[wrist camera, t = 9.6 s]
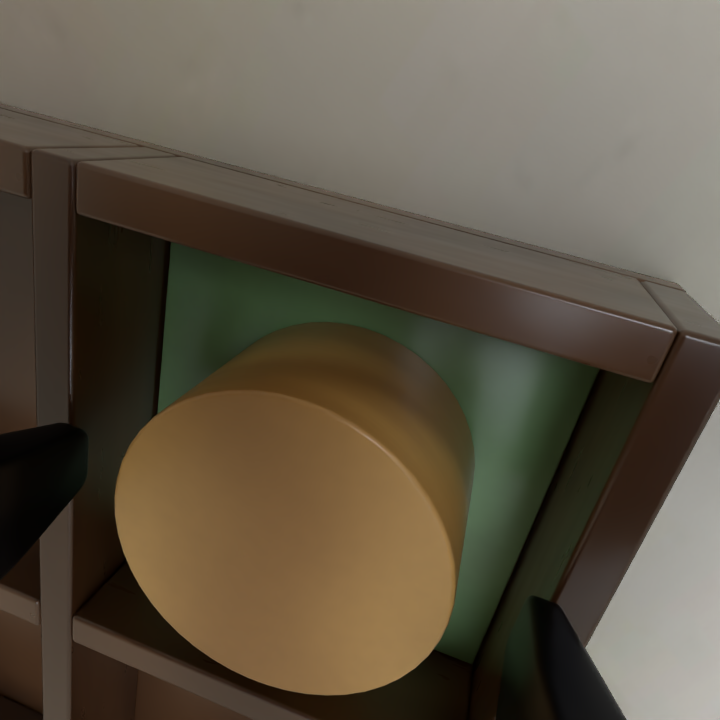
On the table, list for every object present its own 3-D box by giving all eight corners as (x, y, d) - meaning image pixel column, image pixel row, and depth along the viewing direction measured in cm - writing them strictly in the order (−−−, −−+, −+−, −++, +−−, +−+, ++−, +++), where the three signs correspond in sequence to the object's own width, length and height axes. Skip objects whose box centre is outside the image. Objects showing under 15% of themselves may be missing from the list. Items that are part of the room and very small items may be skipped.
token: (514, 372, 9) (509, 469, 6) (431, 597, 11) (401, 745, 8) (230, 285, 10) (119, 340, 7) (202, 511, 12) (106, 619, 9)
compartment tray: (680, 283, 9) (750, 348, 6) (405, 874, 16) (380, 1029, 13) (-202, 49, 11) (-428, 20, 9) (-102, 639, 18) (-211, 726, 16)
